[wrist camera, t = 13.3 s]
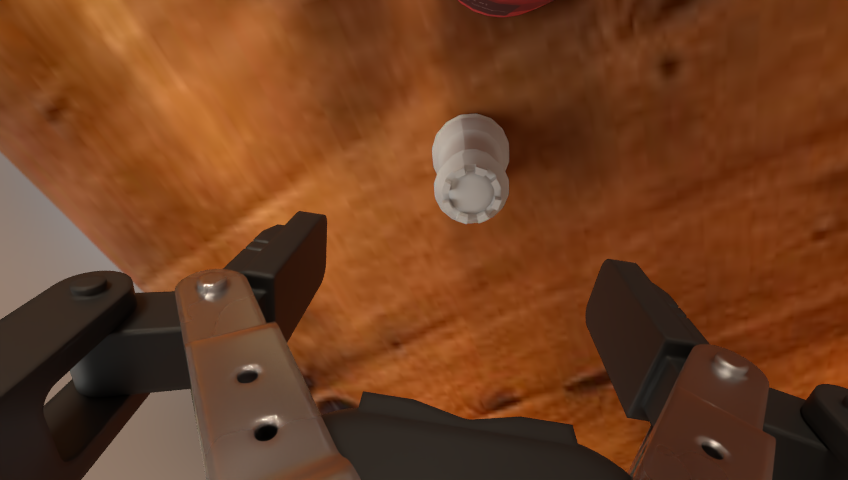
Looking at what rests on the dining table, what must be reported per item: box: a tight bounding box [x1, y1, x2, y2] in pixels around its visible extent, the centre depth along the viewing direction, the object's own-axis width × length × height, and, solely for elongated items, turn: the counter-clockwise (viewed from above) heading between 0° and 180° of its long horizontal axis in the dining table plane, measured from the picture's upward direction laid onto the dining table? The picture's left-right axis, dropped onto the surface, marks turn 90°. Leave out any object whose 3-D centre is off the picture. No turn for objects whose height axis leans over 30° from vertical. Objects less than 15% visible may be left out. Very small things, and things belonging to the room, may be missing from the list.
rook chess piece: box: [432, 113, 509, 224], centre depth 21 cm, size 4×4×8 cm
